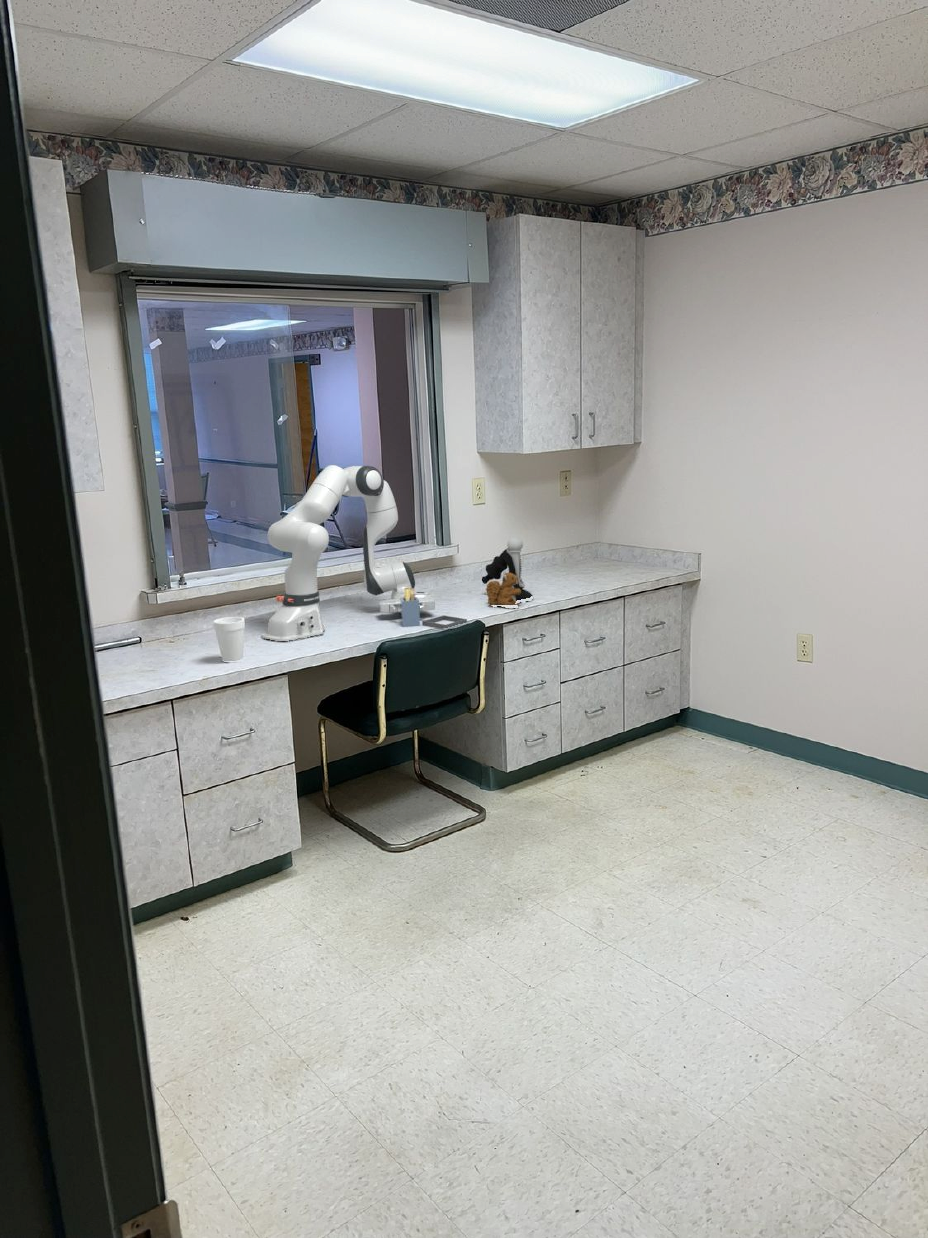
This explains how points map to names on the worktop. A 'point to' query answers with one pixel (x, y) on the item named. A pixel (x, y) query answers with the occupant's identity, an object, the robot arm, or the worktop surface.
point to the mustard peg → (407, 595)
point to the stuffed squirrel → (503, 591)
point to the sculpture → (510, 560)
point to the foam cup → (230, 637)
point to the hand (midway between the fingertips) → (409, 609)
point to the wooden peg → (412, 594)
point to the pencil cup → (410, 612)
